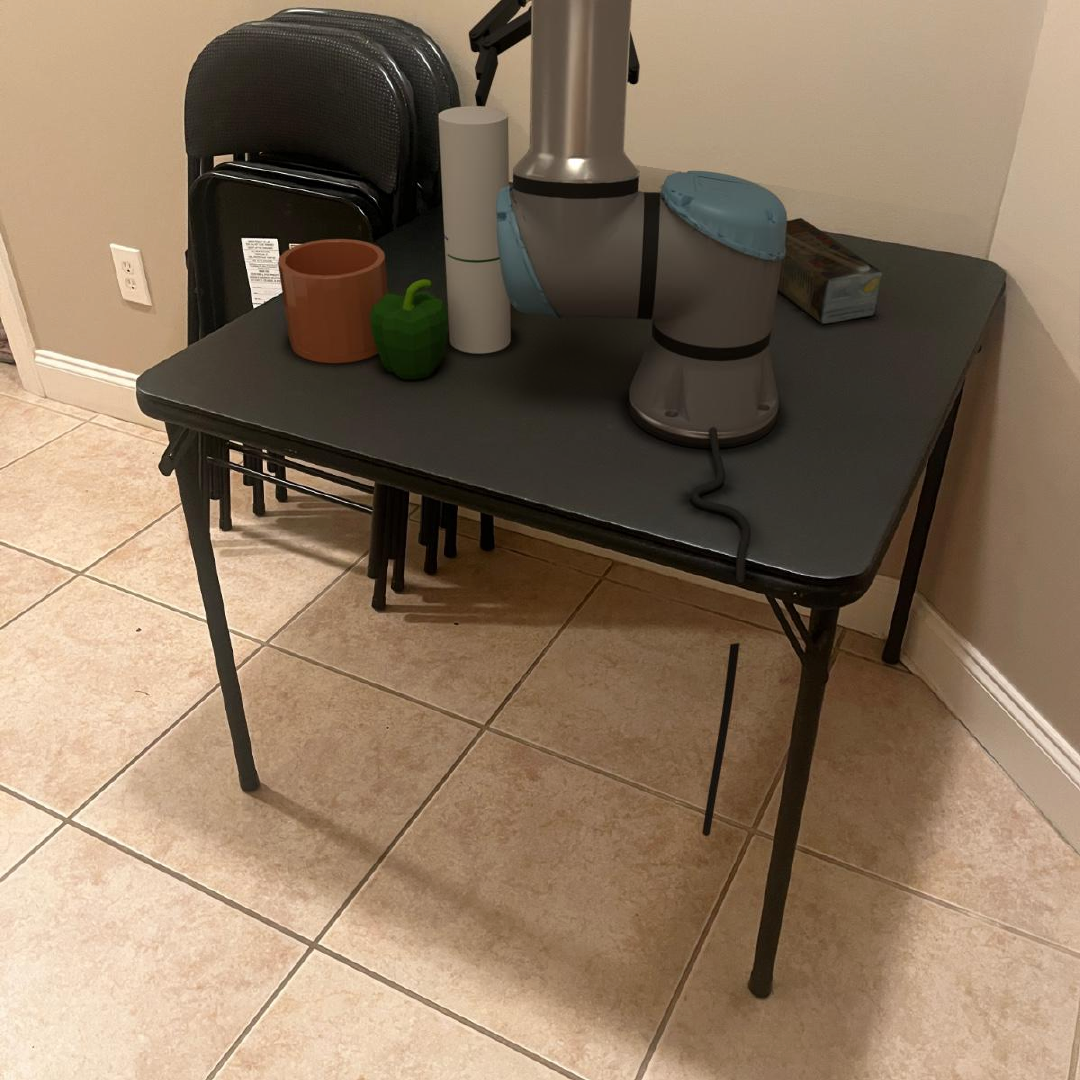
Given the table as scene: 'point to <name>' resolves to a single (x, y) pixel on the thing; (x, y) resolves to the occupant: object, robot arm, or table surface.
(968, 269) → the table surface
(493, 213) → the cylindrical container
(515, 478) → the table surface
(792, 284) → the beverage carton
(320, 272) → the crock
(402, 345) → the bell pepper
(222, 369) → the table surface
